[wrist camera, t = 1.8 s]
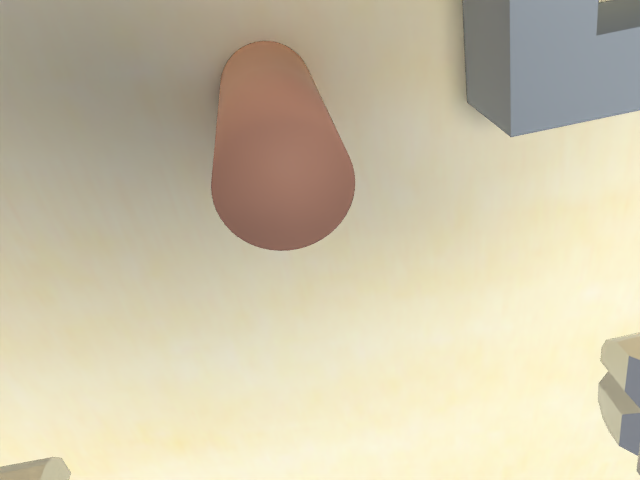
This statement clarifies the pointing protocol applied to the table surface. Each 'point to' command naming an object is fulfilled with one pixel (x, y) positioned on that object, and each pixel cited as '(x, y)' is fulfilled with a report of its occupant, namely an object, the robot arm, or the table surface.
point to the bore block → (551, 61)
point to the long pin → (277, 152)
